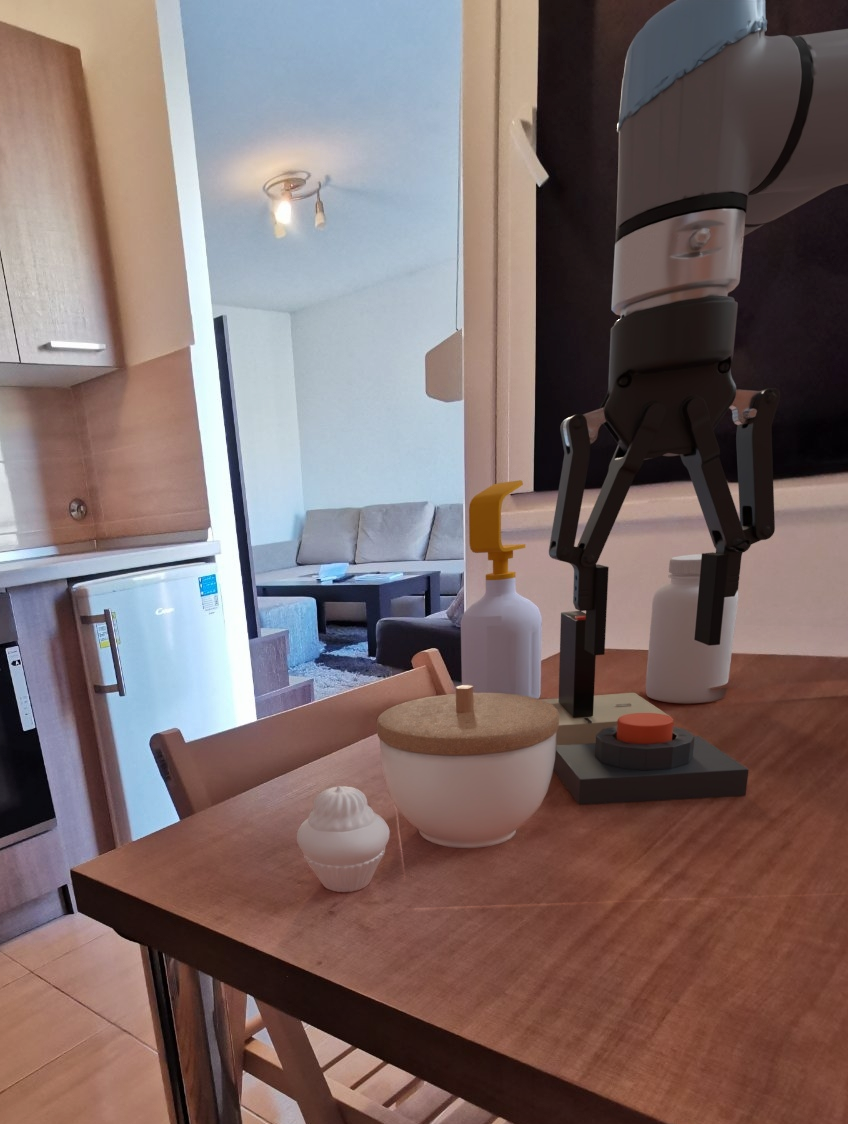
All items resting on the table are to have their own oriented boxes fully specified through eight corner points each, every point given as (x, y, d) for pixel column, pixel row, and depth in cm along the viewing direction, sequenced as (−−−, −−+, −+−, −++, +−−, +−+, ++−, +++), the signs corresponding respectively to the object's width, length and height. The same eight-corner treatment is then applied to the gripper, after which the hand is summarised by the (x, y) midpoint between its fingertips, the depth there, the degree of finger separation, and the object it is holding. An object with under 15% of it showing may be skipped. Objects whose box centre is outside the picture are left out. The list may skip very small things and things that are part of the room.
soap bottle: (556, 695, 91) (561, 475, 83) (506, 713, 87) (507, 481, 78) (495, 687, 98) (494, 483, 90) (446, 703, 94) (440, 490, 85)
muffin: (304, 907, 49) (294, 807, 47) (298, 867, 55) (289, 776, 53) (400, 898, 49) (395, 796, 47) (383, 858, 55) (378, 766, 52)
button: (661, 731, 63) (662, 710, 62) (680, 745, 59) (681, 723, 59) (610, 734, 64) (611, 714, 63) (625, 748, 60) (626, 727, 59)
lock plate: (632, 720, 79) (634, 690, 78) (669, 749, 69) (672, 715, 68) (492, 730, 81) (492, 701, 80) (510, 759, 72) (510, 727, 70)
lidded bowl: (366, 859, 55) (356, 711, 51) (400, 797, 66) (393, 671, 62) (554, 870, 50) (558, 707, 46) (557, 801, 61) (561, 664, 57)
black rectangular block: (558, 702, 77) (560, 609, 74) (577, 701, 77) (580, 607, 74) (573, 717, 71) (576, 618, 68) (593, 716, 71) (597, 616, 68)
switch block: (697, 760, 66) (701, 715, 65) (745, 796, 58) (751, 746, 56) (551, 769, 68) (552, 726, 67) (579, 805, 60) (580, 757, 58)
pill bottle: (725, 706, 79) (741, 557, 74) (640, 704, 84) (649, 563, 79) (729, 688, 85) (744, 549, 80) (649, 687, 90) (659, 555, 85)
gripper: (526, 319, 49) (522, 668, 57) (877, 264, 46) (822, 642, 54) (505, 342, 56) (505, 650, 64) (809, 296, 53) (769, 627, 61)
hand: (649, 646), depth 59 cm, fingers open, 7 cm apart
